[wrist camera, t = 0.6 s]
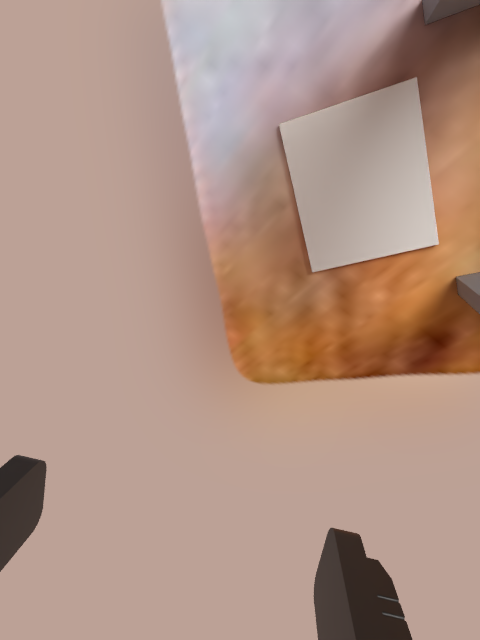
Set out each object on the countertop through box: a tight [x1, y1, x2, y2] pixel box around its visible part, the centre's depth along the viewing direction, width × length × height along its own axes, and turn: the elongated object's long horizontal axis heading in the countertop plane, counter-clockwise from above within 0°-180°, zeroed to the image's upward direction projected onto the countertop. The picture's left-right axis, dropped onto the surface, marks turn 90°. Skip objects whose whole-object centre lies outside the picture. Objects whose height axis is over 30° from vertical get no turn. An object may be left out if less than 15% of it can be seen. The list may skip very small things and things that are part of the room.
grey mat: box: [279, 77, 439, 272], centre depth 31 cm, size 12×10×1 cm
